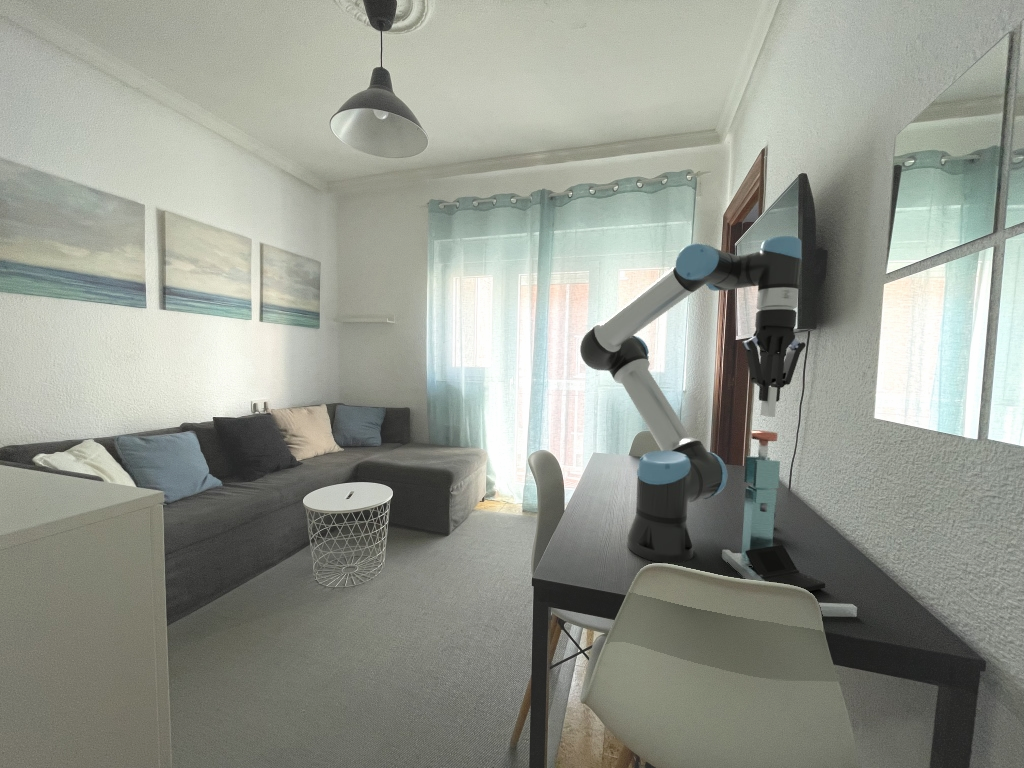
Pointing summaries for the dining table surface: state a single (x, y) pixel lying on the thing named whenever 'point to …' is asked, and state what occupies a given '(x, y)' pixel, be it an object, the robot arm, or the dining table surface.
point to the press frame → (766, 524)
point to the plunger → (763, 441)
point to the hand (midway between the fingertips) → (767, 415)
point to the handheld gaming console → (780, 568)
